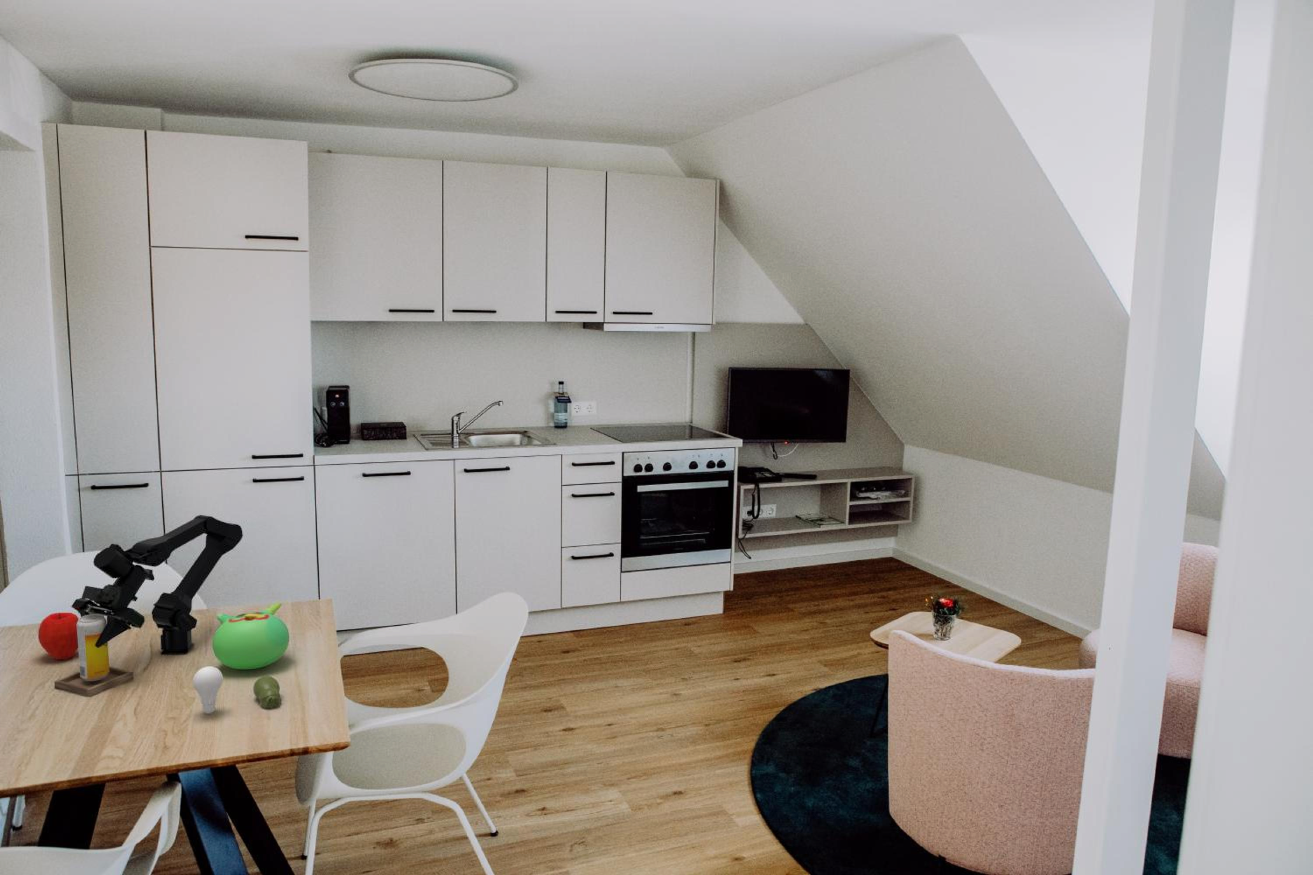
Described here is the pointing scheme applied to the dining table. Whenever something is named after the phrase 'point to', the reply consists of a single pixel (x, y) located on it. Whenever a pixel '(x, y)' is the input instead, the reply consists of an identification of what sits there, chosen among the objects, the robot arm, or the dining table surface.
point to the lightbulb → (208, 687)
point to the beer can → (92, 648)
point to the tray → (93, 682)
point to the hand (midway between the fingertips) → (87, 644)
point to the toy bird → (250, 639)
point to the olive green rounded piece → (267, 692)
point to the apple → (59, 635)
